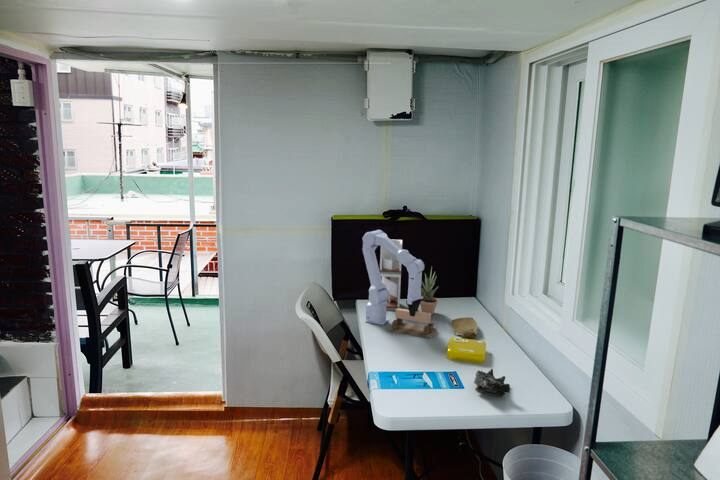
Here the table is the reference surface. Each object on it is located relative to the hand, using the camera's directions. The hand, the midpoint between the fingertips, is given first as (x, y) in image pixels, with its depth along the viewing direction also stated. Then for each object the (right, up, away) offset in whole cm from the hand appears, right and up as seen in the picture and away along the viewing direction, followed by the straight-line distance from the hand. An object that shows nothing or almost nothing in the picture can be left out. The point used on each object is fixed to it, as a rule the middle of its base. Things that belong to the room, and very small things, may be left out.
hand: (413, 315), depth 227 cm
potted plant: (+10, -3, +26) cm, 28 cm away
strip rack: (0, -8, +1) cm, 8 cm away
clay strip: (0, -2, 0) cm, 2 cm away
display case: (-9, -1, +34) cm, 35 cm away
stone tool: (+24, -8, +3) cm, 26 cm away
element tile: (+20, -13, -22) cm, 33 cm away
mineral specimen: (+22, -19, -53) cm, 60 cm away
